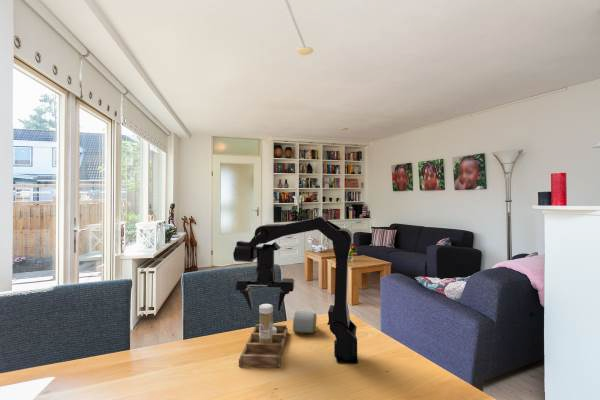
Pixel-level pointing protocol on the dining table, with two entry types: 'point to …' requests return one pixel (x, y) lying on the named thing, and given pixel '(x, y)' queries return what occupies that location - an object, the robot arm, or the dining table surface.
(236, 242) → the robot arm
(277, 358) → the rack
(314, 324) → the ceramic mug
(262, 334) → the sprinkles bottle
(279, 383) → the dining table surface
